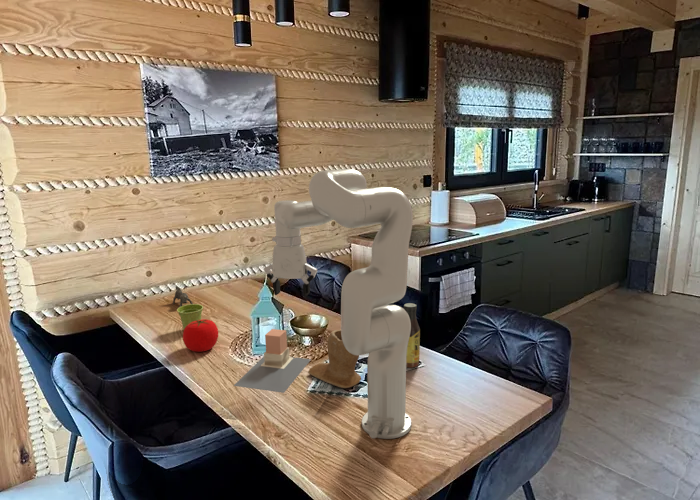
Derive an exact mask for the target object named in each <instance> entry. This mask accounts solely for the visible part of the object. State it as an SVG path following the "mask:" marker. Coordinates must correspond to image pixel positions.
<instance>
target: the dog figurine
mask: <svg viewBox="0 0 700 500" xmlns="http://www.w3.org/2000/svg"><path fill="white" fill-rule="evenodd" d="M172 300H173V301H172V305H175V304H176V300H180V301H179V306H178V308H179V307H181V306H183V304H184V303H185V304H186V303H188V302H189V303H190V304H194V303H193V301H192V300H191V299H190V298H189V295H188V294H187V293H186V292H183V290H182V289H181V288H179V286H175V293H174V297H173V299H172Z"/></svg>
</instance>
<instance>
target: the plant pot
mask: <svg viewBox="0 0 700 500" xmlns="http://www.w3.org/2000/svg"><path fill="white" fill-rule="evenodd" d="M203 309H204V306H203V305H202V304H197V303H193V304H185V305H182V306H181V307H179V306H178V308H177V309H176V310H177V311H176V312H177V313H178V315H179V317H180V320H181V325H182V328H183V330H184V329H185V327H186V326H187V325H188V324H190V323H191V322H193V321H196V320H202V312H203Z"/></svg>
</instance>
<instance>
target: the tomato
mask: <svg viewBox="0 0 700 500" xmlns="http://www.w3.org/2000/svg"><path fill="white" fill-rule="evenodd" d="M218 339H219V328H218V326H217V325H216V323H215V322H214V321H213V320H211V319H207V318H206V319H205V318H201V320H196V321H193V322H191V323H190V324H188V325H187V326H186V327H185V329H183V332H182V340H183V344H184V345H185V347H186V348H187V349H188V350H190V351H192V352H195V353H196V352H197V353H200V352H201V353H202V352H206V351H210V350H211V349H212V348H214V347H215V346H216V344H217V343H218Z"/></svg>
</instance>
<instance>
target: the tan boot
mask: <svg viewBox="0 0 700 500" xmlns="http://www.w3.org/2000/svg"><path fill="white" fill-rule="evenodd" d="M326 345H327V356H328V362H320V363H317V364H314V365H313V366H312V367H310V368H309V370H308V372H307V374H309V375H310V376H312V377H315V378H316V379H318V380H321V381H323V382H325V383H327V384H329V385H332V386H335V387H336V388H337V387H338V388H340V389H349V388H352V387H354V386H356V385H358V384H359V383H360V381H361V380H362V376H361V375H360V374H359V373H357V372H356V365H357V362H358V360H359V357H360V355H353V354H351V353H349V352H348V351H347V349H346V348H345V346H344V344H343V341H342V336H341V329H335V330H332V331H331V332H330V333H329V335H328V337H327V343H326Z"/></svg>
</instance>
